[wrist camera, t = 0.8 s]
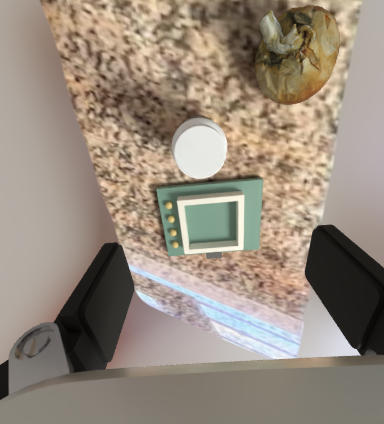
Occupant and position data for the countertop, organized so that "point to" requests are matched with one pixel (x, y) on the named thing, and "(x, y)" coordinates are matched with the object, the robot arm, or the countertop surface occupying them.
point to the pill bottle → (199, 147)
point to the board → (211, 216)
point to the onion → (296, 53)
